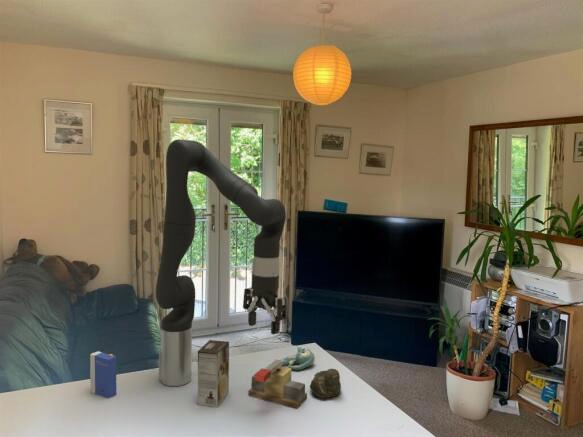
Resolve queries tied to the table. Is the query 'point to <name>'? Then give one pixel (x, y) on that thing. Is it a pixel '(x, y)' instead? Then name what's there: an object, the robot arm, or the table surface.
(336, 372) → the seashell
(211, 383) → the coffee box
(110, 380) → the walkman
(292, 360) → the stuffed animal
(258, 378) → the valve lever
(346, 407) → the table surface
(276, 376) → the valve plinth
